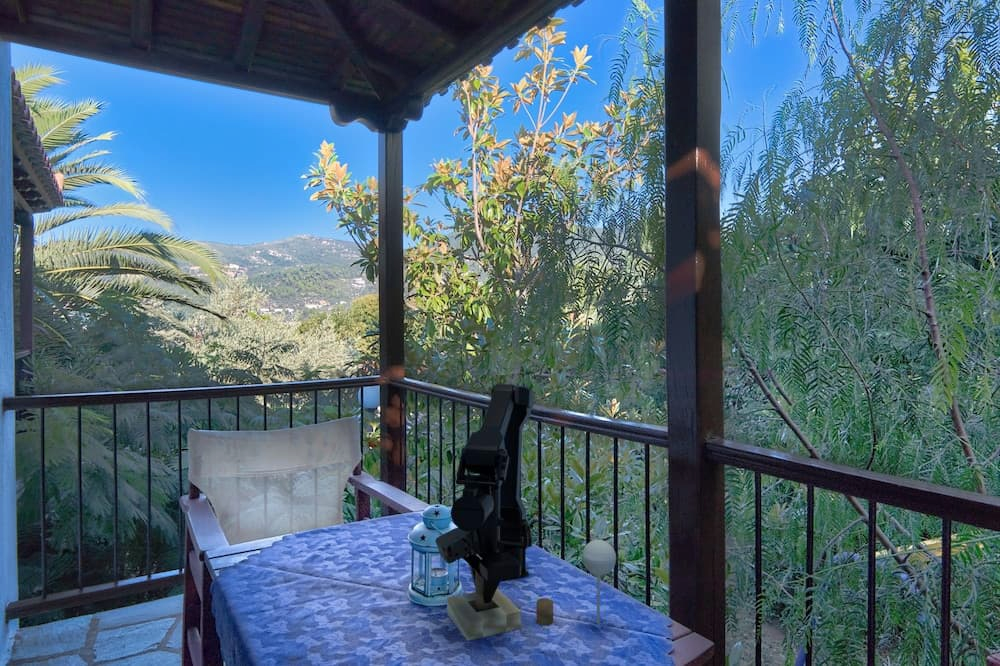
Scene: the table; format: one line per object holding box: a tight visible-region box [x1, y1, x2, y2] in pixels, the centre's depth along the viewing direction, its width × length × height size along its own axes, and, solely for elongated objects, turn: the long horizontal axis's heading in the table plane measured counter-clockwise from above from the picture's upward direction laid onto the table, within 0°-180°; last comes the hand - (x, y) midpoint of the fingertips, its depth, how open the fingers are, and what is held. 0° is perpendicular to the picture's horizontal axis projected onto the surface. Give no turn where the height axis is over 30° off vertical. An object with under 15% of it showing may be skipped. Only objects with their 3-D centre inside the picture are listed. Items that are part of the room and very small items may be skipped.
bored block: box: [446, 587, 522, 642], centre depth 109 cm, size 10×10×3 cm
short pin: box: [535, 597, 554, 626], centre depth 109 cm, size 3×3×4 cm
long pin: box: [474, 565, 492, 612], centre depth 109 cm, size 3×3×8 cm
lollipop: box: [581, 539, 617, 626], centre depth 108 cm, size 6×6×15 cm
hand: (483, 598), depth 109 cm, fingers closed on long pin, 3 cm apart
